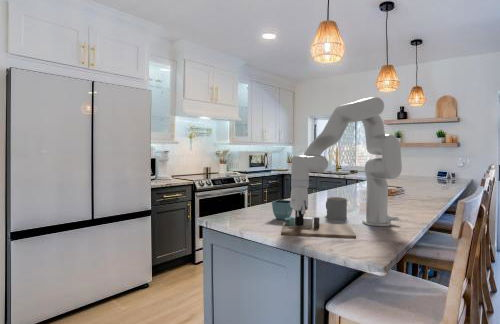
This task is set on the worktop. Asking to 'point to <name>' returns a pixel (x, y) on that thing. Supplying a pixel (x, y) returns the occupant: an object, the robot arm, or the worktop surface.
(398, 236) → the worktop surface
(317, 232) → the walnut board
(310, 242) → the worktop surface
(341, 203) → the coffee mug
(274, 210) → the flower pot
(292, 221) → the swing bar
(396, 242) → the worktop surface
